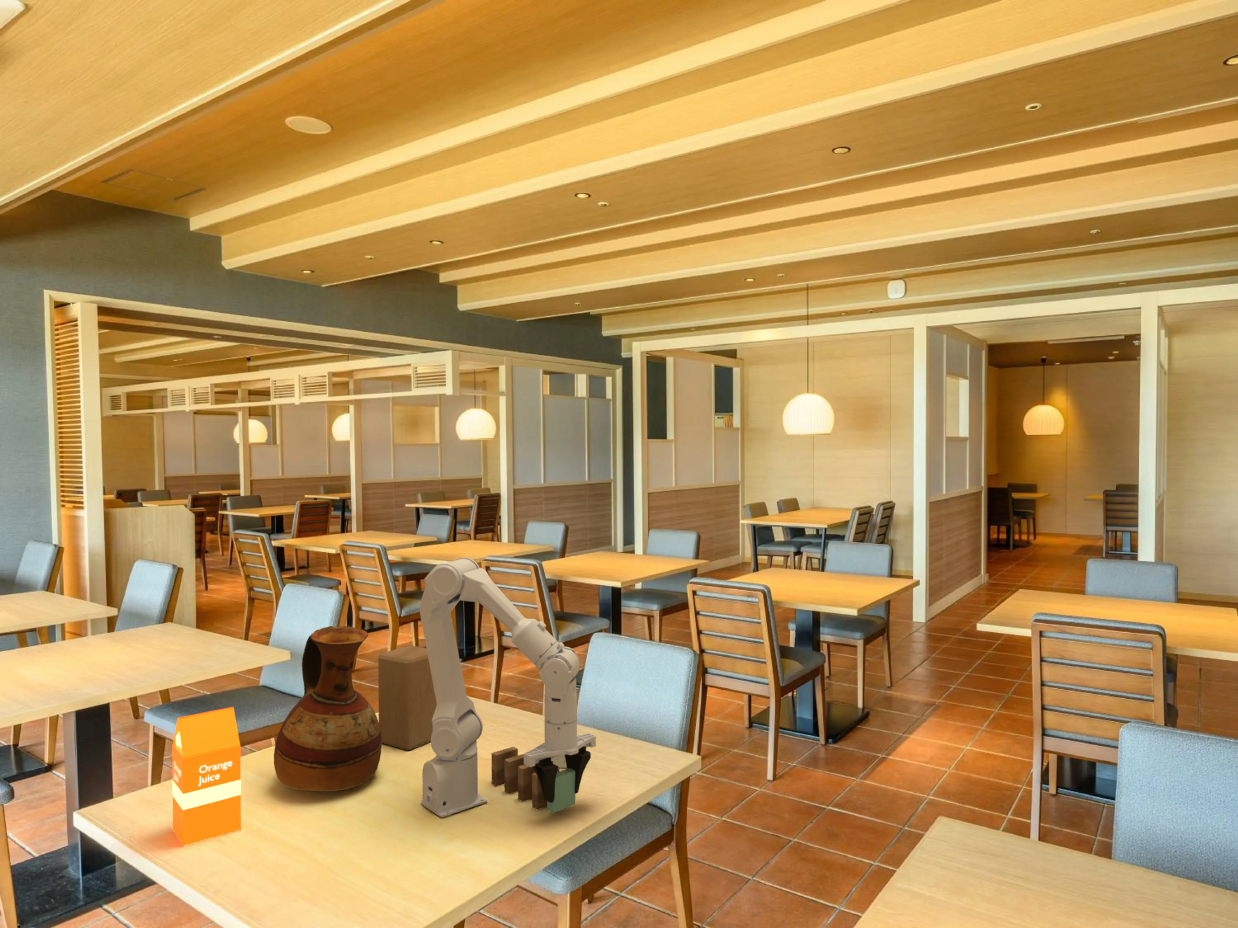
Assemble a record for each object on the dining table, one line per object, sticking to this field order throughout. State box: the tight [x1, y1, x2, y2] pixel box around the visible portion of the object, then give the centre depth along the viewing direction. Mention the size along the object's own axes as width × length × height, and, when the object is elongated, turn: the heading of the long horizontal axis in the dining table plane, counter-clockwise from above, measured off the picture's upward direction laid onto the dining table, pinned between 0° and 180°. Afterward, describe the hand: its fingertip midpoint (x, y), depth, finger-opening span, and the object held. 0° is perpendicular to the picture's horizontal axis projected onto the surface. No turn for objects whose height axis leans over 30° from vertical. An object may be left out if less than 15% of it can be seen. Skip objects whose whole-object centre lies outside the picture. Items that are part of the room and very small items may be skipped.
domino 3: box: [517, 764, 536, 803], centre depth 144 cm, size 5×2×6 cm, turn 132°
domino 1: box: [491, 746, 519, 787], centre depth 151 cm, size 5×2×6 cm, turn 131°
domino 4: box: [531, 769, 561, 811], centre depth 141 cm, size 5×2×6 cm, turn 132°
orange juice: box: [171, 706, 242, 847], centre depth 131 cm, size 8×9×20 cm
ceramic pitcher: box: [273, 625, 383, 792], centre depth 151 cm, size 20×20×30 cm
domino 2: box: [504, 753, 524, 795], centre depth 147 cm, size 5×2×6 cm, turn 131°
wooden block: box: [377, 645, 437, 751], centre depth 173 cm, size 10×10×20 cm
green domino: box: [546, 768, 576, 814], centre depth 137 cm, size 5×2×6 cm, turn 131°
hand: (561, 795), depth 137 cm, fingers closed on green domino, 5 cm apart
